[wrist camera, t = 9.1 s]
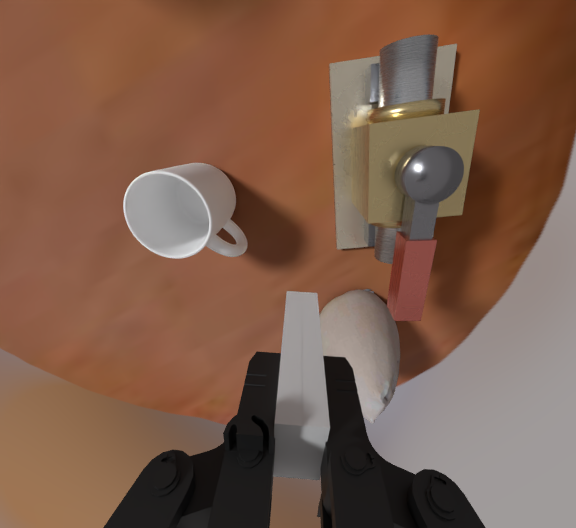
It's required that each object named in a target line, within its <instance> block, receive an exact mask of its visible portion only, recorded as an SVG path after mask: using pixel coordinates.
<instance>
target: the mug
mask: <svg viewBox="0 0 576 528" xmlns="http://www.w3.org/2000/svg"><path fill="white" fill-rule="evenodd" d="M235 206H236V195H235V190H234V187H233V185H232V183H231V181H230V180H229V179H228V177H227V176H226V175H225V174H224V173H223V172H222V171H221V170H219V169H218V168H216V167H214V166H212V165H209V164H205V163H190V164H185V165H180V166H175V167H170V168H165V169H161V170H156V171H151V172H147V173H144V174H142V175H140V176H139V177H137V178H136V179H135V180H134V181H133V182H132V183H131V184H130V185H129V187H128V189H127V191H126V193H125V197H124V207H123V208H124V215H125V219H126V222H127V224H128V226H129V228H130V230H131V232H132V233H133V235H134V236H135V237H136V239H137V240H138V241H139V242H140V243H141V244H142V245H144V246H145V247H146V248H147V249H149V250H150V251H152V252H154V253H156V254H158V255H161V256H164V257H168V258H186V257H190V256H192V255H194V254H196V253H198V252H199V251H201V250H202V249H203V248H204V247H205V246H207V247H208V248H210V249H211V250H213V251H215V252H217V253H219V254H222V255H225V256H229V257H237V256H240V255H242V254H243V253H245V251H246V249H247V239H246V236H245V235H244V233H243V231H242V230H241V229H240V228H239V227H238V226H237V225H236V224H235V223H234V222H233V221H232V220H231V219H230V218H231V217H232V215H233V213H234V210H235ZM222 228H224V229H225V230H226V231H227V232H229V233H230V234H231V235H232V236H233V237H234V239H235V240H236V244H230V243H228V242H226V241H224V240H223V239H221V238H220V237H219V236H217V235H216V234H217V233H218V232H219V231H220V230H221V229H222Z"/></svg>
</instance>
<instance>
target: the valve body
mask: <svg viewBox="0 0 576 528" xmlns="http://www.w3.org/2000/svg"><path fill="white" fill-rule="evenodd" d="M456 48H457V44H453V45H446V46H440V47H438V36H436V35H421V36H415V37H410V38H406V39H402V40H399V41H396V42H393V43H391V44H389V45H387V46H385V47H383V48H382V49H381V50H380V56H376V57H370V58H363V59H357V60H351V61H344V62H338V63H331V64H329V83H330V108H331V132H332V156H333V181H334V205H335V229H336V248H337V249H347V248H359V247H371V246H375V258H376V259H377V260H379V261H381V262H384V263H388V264H392V263H393V255H394V248H395V240H396V233H397V231H401V224H402V217H403V210H404V203H405V195H404V194H403V193H401V192H400V191H399V189H398V188H397V186H396V183H395V170H396V167H397V164H398V162H399V161H400V159H401V158H402V157H403V156H404V155H405V154H406V153H407V152H408V151H410V150H411V149H413V148H415V147H418V146H445V147H449V148H452V149H454V150H455V151H456V152H458V154H459V155H460V156H461V158H462V160H463V164H464V174H463V178H462V181H461V183H460V185H459V187H458V188H457V189H456V191H455V192H454V193H453V194H452V195H451V196H449V197H448V198H447V199H445V200H443V201H441V202H439V207H438V212H437V217H445V216H456V215H462V212H463V207H464V201H465V195H466V189H467V183H468V177H469V171H470V165H471V159H472V153H473V147H474V141H475V135H476V129H477V123H478V117H479V111H480V109H479V110H472V111H464V112H456V113H449V105H450V97H451V89H452V81H453V72H454V64H455V56H456ZM448 113H449V114H448ZM433 233H434V232H433Z"/></svg>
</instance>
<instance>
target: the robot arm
mask: <svg viewBox="0 0 576 528" xmlns="http://www.w3.org/2000/svg"><path fill="white" fill-rule="evenodd" d="M223 434H224V443H223V444H221V445H220V446H218V447H217V448H215V449H212V450H210V451H207V452H204V453H200V454H197V455H193V456H188V455H187V454H186V453H184V452H183V451H179V450H170V451H167V452H163V453H161V454H160V455H158V456H157V457H155V458H154V459H152V460H151V461H150V463H149V464H148V465H147V466H146V467H145V468H144V469H143V471H142V472H141V474H140V475H139V477H138V478H137V480H136V481H135V483H134V484H133V485H132V487H131V488H130V490H129V491H128V493H127V494H126V496H125V497H124V498H123V500H122V502H121V503H120V504H119V506H118V507H117V509H116V510H115V512H114V513H113V514H112V516H111V517H110V519H109V520H108V522H107V524H106V525H105V526H104V528H269V526H270V514H271V513H270V512H271V500H272V485H273V476H276V477H288V478H300V479H312V480H319V479H320V475H321V489H322V494H321V498H320V502H319V507H318V515H317V516H318V517H321V528H485V526H484V525H483V523H482V522H481V520H480V519H479V517H478V515H477V514H476V512H475V511H474V509H473V507H472V506H471V504H470V503H469V501H468V500H467V498H466V497H465V495H464V493H463V492H462V491H461V490H460V488H459V487H458V486H457V485H456V484H455V483H454V482H453V481H452V480H451V479H449V478H448V477H447V476H446V475H444V474H442V473H440V472H438V471H435V470H427V469H424V470H422V471H420V472H418V473H417V474H416V475H415V474H413V473H411V472H408V471H406V470H404V469H402V468H399V467H397V466H395V465H393V464H391V463H389V462H387V461H386V460H385V459H383V458H382V457H381V456H380V455H379V454H378V453H377V452H376V451H375V450H374V448H373V447H372V445H371V443H370V441H369V439H368V436H367V433H366V428H365V423H364V418H363V414H362V409H361V404H360V400H359V395H358V391H357V386H356V383H355V377H354V372H353V368H352V366H351V365H350V364H349V362H348V361H347V359H346V358H345V357H334V356H323V348H322V338H321V328H320V317H319V307H318V296H317V293H308V292H293V291H287V295H286V306H285V317H284V327H283V338H282V349H281V353H269V352H256V353H255V355H254V356H253V357H252V359H251V360H250V361H249V365H248V370H247V375H246V379H245V383H244V387H243V392H242V396H241V401H240V405H239V409H238V414H237V415H236V416H234V417H233V418H232V419H231V420H230V422H229V423H228V424H227V426H226V428H225V431H224V433H223Z"/></svg>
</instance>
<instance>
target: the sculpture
mask: <svg viewBox="0 0 576 528" xmlns="http://www.w3.org/2000/svg"><path fill="white" fill-rule="evenodd" d="M319 317H320V328H321V338H322V348H323V356H334V357H345V358H346V359H347V361H348V362H349V364H350V365H351V366H352V368H353V372H354V377H355V383H356V386H357V391H358V395H359V400H360V404H361V409H362V414H363V416H364V417H365V418H366V419H367V420H368V421H369V422H371V423H374V421H375V419H376V418H377V417H378V416H379V415H380V414H381V413H382V411H384V409H385V407H386V406H387V405H388V404H389V403H390V401H391V399H392V397H393V395H394V392H395V387H396V384H397V379H398V374H399V363H400V342H399V334H398V329H397V325H396V322H395V321H394V319H393V317H392V315H391V313H390V311H389V309H388V307H387V305H386V304H385V303H384V302H383V301H382V300H381V299H380V298H379V297H378V296H377V295H375V294H374V292H370V290H369V289H366V290H354V291H348V292H346V293H345V294H343V295H341V296H339V297H336V298H334V299H333V300H332V301H331V302H329V303H328V304H327V305H326V306H325V307H324V309H323V310H322V312H321V314H320V316H319Z"/></svg>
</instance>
